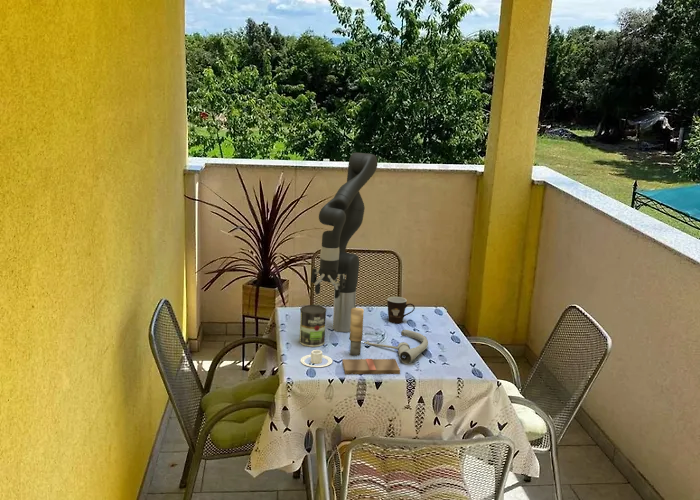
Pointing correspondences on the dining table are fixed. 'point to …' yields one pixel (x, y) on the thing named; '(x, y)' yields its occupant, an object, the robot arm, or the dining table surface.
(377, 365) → the board
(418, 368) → the dining table surface
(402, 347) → the faucet
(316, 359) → the candle holder
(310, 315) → the coffee can
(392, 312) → the coffee mug
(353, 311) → the tan grey cylinder
